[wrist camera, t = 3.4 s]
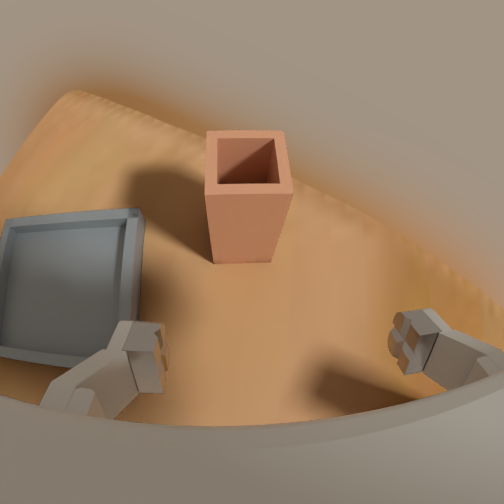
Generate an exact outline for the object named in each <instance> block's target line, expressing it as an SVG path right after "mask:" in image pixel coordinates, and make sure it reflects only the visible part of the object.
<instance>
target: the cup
mask: <svg viewBox="0 0 504 504" xmlns="http://www.w3.org/2000/svg"><path fill="white" fill-rule="evenodd" d="M293 194H294V193H293V186H292V180H291V173H290V167H289V161H288V155H287V148H286V142H285V137H284V131H259V130H255V131H253V130H249V131H248V130H246V131H245V130H241V131H240V130H238V131H207V137H206V162H205V203H206V211H207V218H208V226H209V234H210V241H211V248H212V255H213V263H214V264H228V263H261V262H271V260H272V257H273V254H274V251H275V248H276V245H277V242H278V239H279V236H280V233H281V230H282V227H283V224H284V221H285V218H286V215H287V212H288V209H289V206H290V203H291V200H292V197H293Z"/></svg>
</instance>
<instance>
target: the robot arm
mask: <svg viewBox="0 0 504 504" xmlns="http://www.w3.org/2000/svg"><path fill="white" fill-rule="evenodd" d="M393 324H394V326H395V327H394V328H393V329H392V330H391V331H390V333H389V336H388V348H389V351H390V353H391V355H392V356H394V357H395V358H397V359H398V361H397V364H398V366H399V367H400V369H401V371H402V372H403V374H404V375H408V374H413V373H418V372H423V373H424V374H425V375H427V376H428V377H430V378H431V379H432V380H434V381H435V382H437V383H438V384H440V385H441V386H442V387H444V388H445V389H447V390H448V391H446V392H443V393H439V394H436V395H433V396H429V397H426V398H422V399H419V400H415V401H411V402H407V403H403V404H399V405H395V406H390V407H386V408H381V409H376V410H371V411H366V412H361V413H356V414H350V415H344V416H338V417H332V418H325V419H317V420H309V421H300V422H291V423H280V424H266V425H247V426H182V425H163V424H150V423H139V422H129V421H120V420H114V419H115V418H116V417H117V416H118V414H119V413H120V412H121V411H122V410H123V409H124V408H125V407H126V406H127V405H128V404H129V403H130V402H131V401H132V400H133V399H134V398H135V397H136V396H137V395H138V394H139V393H162V394H164V388H165V383H166V376H165V372H166V371H167V370H168V367H169V347H168V343H167V342H166V341H165V335H166V329H165V324H164V323H163V322H147V321H127V320H121V321H119V322H118V325H117V327H116V329H115V331H114V333H113V335H112V338H111V340H110V342H109V344H108V346H107V349H106V350H105V349H102V350H100V351H99V352H97V353H95V354H94V355H92V356H91V357H89V358H88V359H86V360H84V361H83V362H81V363H80V364H78V365H77V366H75V367H73V368H72V369H70V370H69V371H67V372H65V373H64V374H62V375H61V376H59V377H58V378H56V379H54V380H53V381H51V383H50V385H49V387H48V389H47V391H46V392H45V394H44V396H43V398H42V400H41V402H40V404H39V405H35V404H31V403H27V402H23V401H20V400H16V399H13V398H9V397H6V396H3V395H0V504H504V353H503V352H502V351H501V350H500V349H498V348H496V347H493V346H491V345H489V344H487V343H484V342H482V341H480V340H477V339H475V338H473V337H471V336H468V335H466V334H464V333H462V332H459V331H457V330H452V329H451V328H450V327H449V326H448V325H447V324H446V323H445V322H444V321H443V320H442V319H441V318H440V316H439V315H438V314H437V313H436V312H435V311H434V310H433V309H431V308H425V309H419V310H413V311H406V312H397V313H396V315H395V316H394V319H393Z"/></svg>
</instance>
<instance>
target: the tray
mask: <svg viewBox="0 0 504 504" xmlns="http://www.w3.org/2000/svg"><path fill="white" fill-rule="evenodd" d="M145 223H146V221H145V219H144V217H143V214H142V212H141V210H140V208H126V209H111V210H97V211H84V212H72V213H61V214H50V215H40V216H30V217H21V218H12V219H6V221H5V225H4V228H3V232H2V236H1V240H0V357H5V358H10V359H15V360H21V361H26V362H32V363H39V364H45V365H52V366H59V367H67V368H73V367H75V366H77V365H78V364H80V363H81V362H83V361H84V360H86V359H88V358H89V357H91V356H92V355H94V354H95V353H97V352H99V351H100V350H102V349H105V350H106V349H107V346H108V344H109V342H110V340H111V338H112V335H113V333H114V331H115V329H116V327H117V325H118V322H119V321H121V320H127V321H139V312H140V287H141V270H142V256H143V244H144V233H145Z"/></svg>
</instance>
